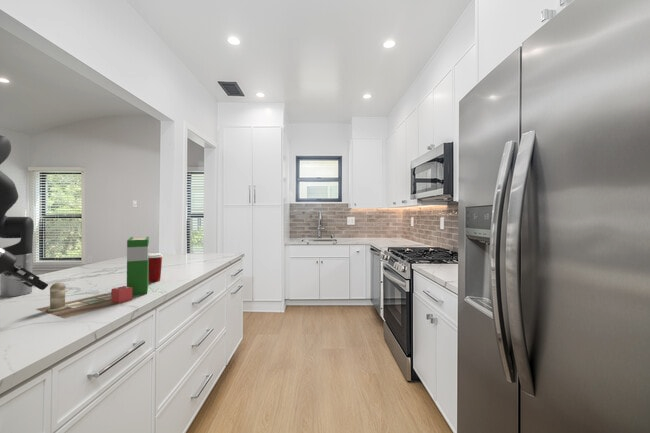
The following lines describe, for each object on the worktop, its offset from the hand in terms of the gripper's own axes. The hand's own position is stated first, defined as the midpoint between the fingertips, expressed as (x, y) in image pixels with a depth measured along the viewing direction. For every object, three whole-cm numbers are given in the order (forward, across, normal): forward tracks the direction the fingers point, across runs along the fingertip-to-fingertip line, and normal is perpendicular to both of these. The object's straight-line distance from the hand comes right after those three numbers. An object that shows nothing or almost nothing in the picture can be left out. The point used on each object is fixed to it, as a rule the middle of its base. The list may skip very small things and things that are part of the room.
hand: (39, 286), depth 98 cm
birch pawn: (+10, 0, +3) cm, 11 cm away
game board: (+16, -3, -2) cm, 16 cm away
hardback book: (+31, 0, -17) cm, 35 cm away
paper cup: (+42, +11, -28) cm, 51 cm away
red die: (+22, -9, -8) cm, 25 cm away
